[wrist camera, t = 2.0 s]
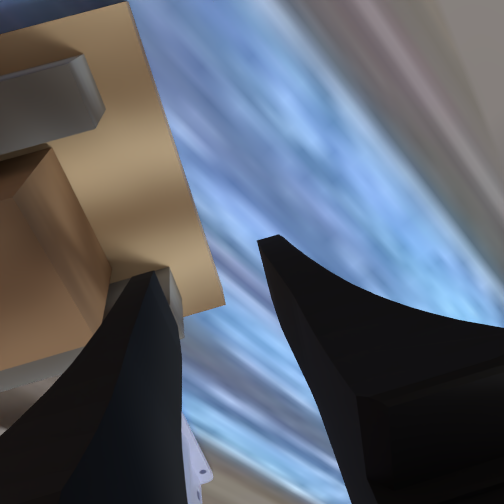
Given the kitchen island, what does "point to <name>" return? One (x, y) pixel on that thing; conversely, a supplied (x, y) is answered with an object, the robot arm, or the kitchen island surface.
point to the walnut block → (46, 263)
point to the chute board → (106, 157)
